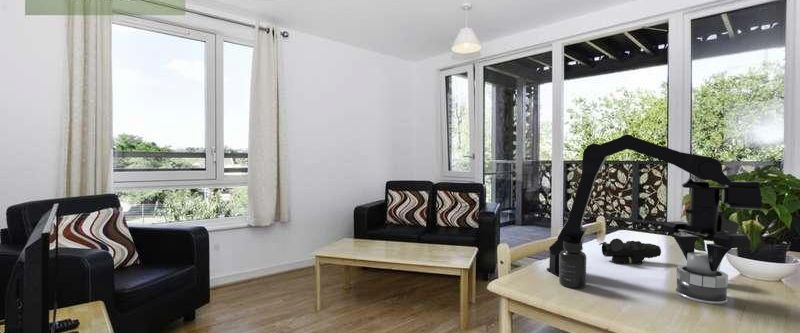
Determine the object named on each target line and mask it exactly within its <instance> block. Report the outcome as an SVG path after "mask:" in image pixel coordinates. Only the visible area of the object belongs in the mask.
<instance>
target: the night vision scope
mask: <svg viewBox="0 0 800 333" xmlns="http://www.w3.org/2000/svg"><path fill="white" fill-rule="evenodd" d="M598 245H599V246H600V245H601V253H602V255H603V256H604V257H607V258H608V257H609V258H611V262H612V263H613V264H624V265H625V264H633V265H634V264H635V265H637V264H641V265H643V264H644V261H645V259H653V258H657V257H660V256H661V255H662V249H661V246H660V245H656V244H654V243H653V244H652V243H644V242H642V241H640V240H636V241H635V240H626V242H623V240H621V239H620V238H613V239H612V240H611V241H610V242H609V243H607V241H603V242H600V243H599V244H598Z"/></svg>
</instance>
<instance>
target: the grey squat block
mask: <svg viewBox="0 0 800 333" xmlns="http://www.w3.org/2000/svg"><path fill="white" fill-rule="evenodd" d="M686 265H687V270H689V271H692V272H695V273H700V274H708V275H714V274H717V270H716V271H711V269H710V265H709V258H708V254H706V253H698V252H689V253H687V260H686Z"/></svg>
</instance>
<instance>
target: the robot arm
mask: <svg viewBox="0 0 800 333" xmlns="http://www.w3.org/2000/svg"><path fill="white" fill-rule="evenodd" d="M626 150H630V151H633V152H636V153H639V154H641V155H644V156H647V157H650V158H653V159H656V160H659V161H663V162H665V163H668V164H671V165H674V166H675V167H677V168H679V169H680V170H683V171H684V172H687V173H689V174H691V175H692V176H694V177H696V178H698V179H701V180H703V181H695V180H693V179H692V178H691V177H689V178H688V179H687V180H686V181H685V182H684V183H681V187H683V188H684V189H685V188H686V189H687V188H688V189H690V201H689V202H690V203H689V208H685V213H686V214H689V222H685V221H679V220H678V221H676V220H675V221H674V220H673V221H666V222H665V223H664V224H663V230H662V231H663V232H664V233H667V234H671V237H672V238H674V241H675V242H676V243H677V245H678V246H679V248H680V250H681V252H682V254H683V256H684V258H685V260H686V261H687V253H689V252H694V251H695V247H696V243H697V241H698V240H699V238H704V239H708V240H712V242H713V243H706V244H705V245H706V252H708V258H709V265H710V269H711V271H716V270H717V268H718V266H719V265H720V263H721V264H722V261H723V259H724V257H725V256H726V254H727V253H728V252H729V251H731V250H732V249H746V248H747V249H748V248H751V239H750V237H749V236H748V235H747V234H744V233H743V234H741V233H738V231H739V228H740V225H741V224H740V223H738V222H736V221H734V220H731V219H729V218H726V217H725V213H724V211H723V210H722V211H721V210H720V195H721V203H722V204H724V205H725V204H726V206H727V208H729V209H741V210H755V211H758V210H759V211H760V210H761V207H762V202H763V196H762V192H761V188H760V181H753V180H750V181H736V180H733V181H732V180H730V177H728V176H726V174H725V173H724V172H723V165H722V163H721V161H720V160H718V159H717V158H715V157H712V156H704V155H701V154H700V155H699V154H694V153H688V152H682V151H678V150H675V149H672V148H669V147H666V146H663V145H660V144H657V143H654V142H651V141H648V140H644V139H641V138H638V137H635V136H633V135H632V134H627V133H626V134H623V135H622V136H620V137H617V138H615V139H612V140H609V141H606V142H604V143H601V144H600V143H591V144H589V145H587V146H585V147H584V149H583V154H582V160H581V161H582V163H581V175H580V179H579V183H578V186H577V190H576V192H575V194H574V199H573V202H572V206H571V208H570V212H569V215H568V218H567V220H566V222H565V223H564V225H563V227H562V228H561V231H560V232H559V234H558V236H557V239H556V240H555V241H554V242H553V244H551V245H550V246H549V264H548V265H549V267H547V268H546V271H548V272H550V273H551V274H553V275H555V276H557V277H559V254H560V252H561V251H562V250H564V248H563V242H564V241H565V240H575V241H580V242H582V243H584V241H585V235H586V232H587V230H588V228H587V227H583V226H584V223H583V221H584V217H585V214H586V210H587V208H588V204H589V201H590V198H591V195H592V191H593V188H594V186H595V183H596V182H595V181H596V179H597V176H598V175H599V173H600V172H601V169H602V167H603V165H604V164H605V162H606V160H607V159H608V157H610V156H613V155H615V154H617V153H620V152H623V151H626ZM704 180H705V181H704ZM709 181H712V182H714V183H716V184H718V186H714V185H710V184H709V183H710V182H709ZM719 185H720V186H719ZM720 191H721V192H720ZM720 193H721V194H720ZM720 266H721V265H720Z"/></svg>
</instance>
